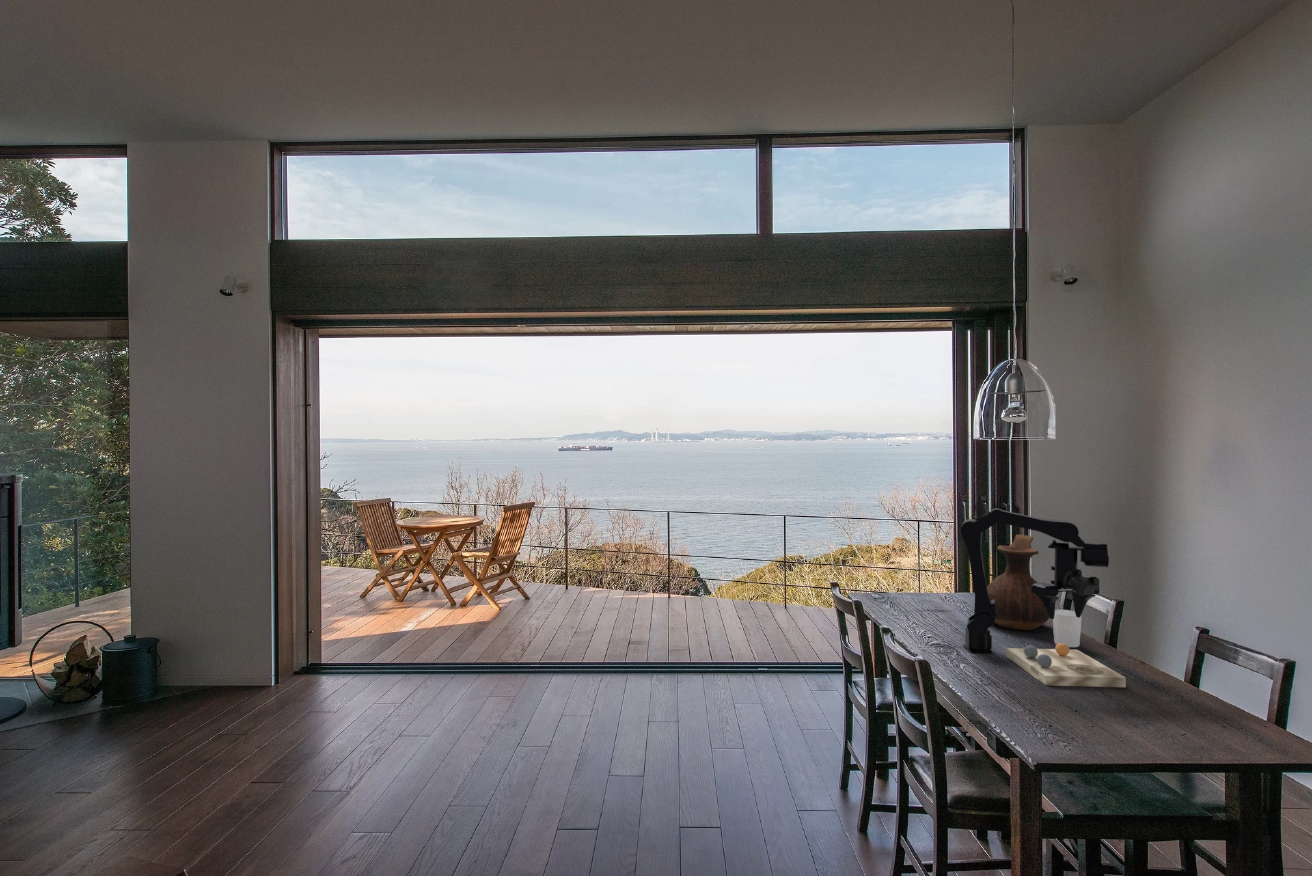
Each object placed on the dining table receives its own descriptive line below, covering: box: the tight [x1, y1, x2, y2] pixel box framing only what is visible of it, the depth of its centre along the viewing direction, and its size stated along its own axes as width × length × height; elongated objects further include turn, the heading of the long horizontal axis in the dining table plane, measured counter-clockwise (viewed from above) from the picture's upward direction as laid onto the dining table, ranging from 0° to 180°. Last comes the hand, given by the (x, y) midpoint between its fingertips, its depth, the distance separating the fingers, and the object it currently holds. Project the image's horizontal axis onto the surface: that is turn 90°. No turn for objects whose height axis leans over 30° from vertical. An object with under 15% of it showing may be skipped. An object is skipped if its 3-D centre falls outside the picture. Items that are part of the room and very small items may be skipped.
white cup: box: [1052, 609, 1082, 648], centre depth 218 cm, size 8×8×10 cm
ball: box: [1054, 643, 1070, 656], centre depth 199 cm, size 4×4×4 cm
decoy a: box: [1024, 644, 1038, 658], centre depth 196 cm, size 4×4×4 cm
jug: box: [987, 534, 1050, 631], centre depth 240 cm, size 22×22×30 cm
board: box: [1005, 647, 1127, 688], centre depth 193 cm, size 20×24×2 cm
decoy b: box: [1037, 654, 1052, 668], centre depth 188 cm, size 4×4×4 cm
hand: (1065, 618), depth 202 cm, fingers open, 9 cm apart
